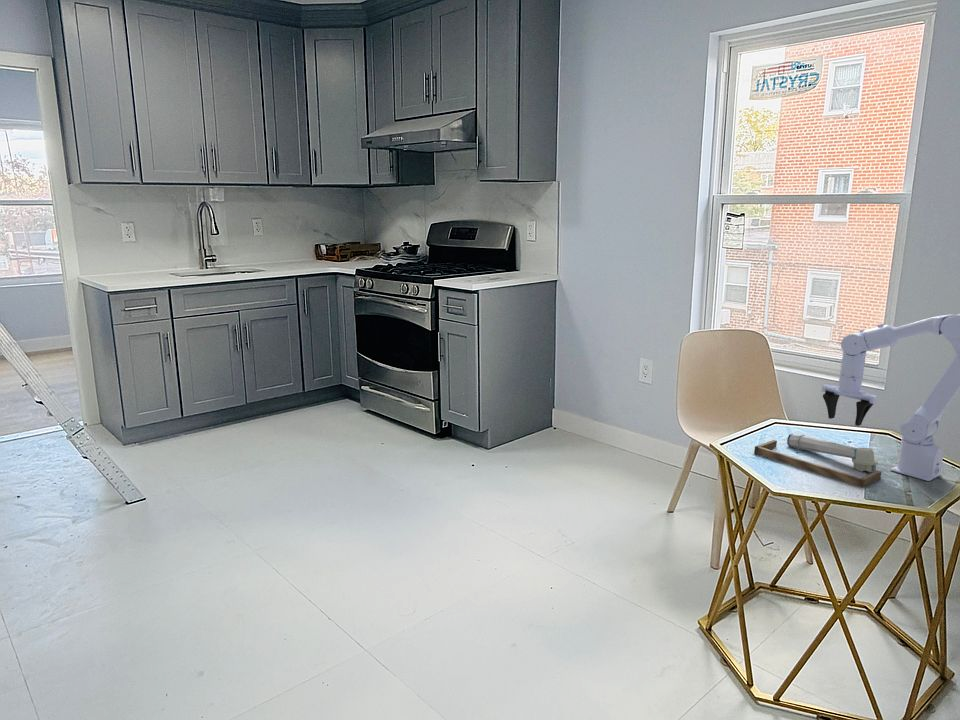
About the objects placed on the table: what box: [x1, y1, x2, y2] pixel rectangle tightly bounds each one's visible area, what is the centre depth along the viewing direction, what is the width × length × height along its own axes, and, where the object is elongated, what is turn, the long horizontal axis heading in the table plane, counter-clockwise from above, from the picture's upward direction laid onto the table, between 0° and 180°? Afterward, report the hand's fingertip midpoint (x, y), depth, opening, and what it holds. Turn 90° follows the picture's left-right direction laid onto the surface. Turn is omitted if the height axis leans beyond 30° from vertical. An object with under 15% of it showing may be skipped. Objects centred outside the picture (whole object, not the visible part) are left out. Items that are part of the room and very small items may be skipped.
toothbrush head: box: [786, 433, 879, 473], centre depth 193 cm, size 5×7×25 cm
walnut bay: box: [753, 439, 883, 488], centre depth 188 cm, size 30×10×2 cm, turn 37°
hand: (844, 421), depth 196 cm, fingers open, 7 cm apart
